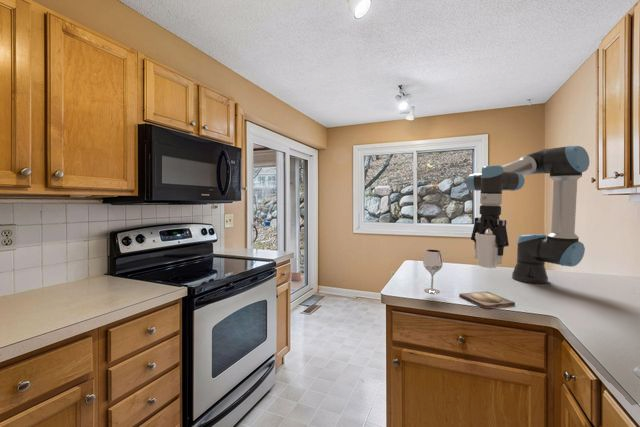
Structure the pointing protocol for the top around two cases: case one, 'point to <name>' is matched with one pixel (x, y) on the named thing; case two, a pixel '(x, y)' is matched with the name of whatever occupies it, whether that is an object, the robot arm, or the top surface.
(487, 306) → the stand board
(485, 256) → the foam cup
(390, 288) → the top surface
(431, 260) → the wineglass
